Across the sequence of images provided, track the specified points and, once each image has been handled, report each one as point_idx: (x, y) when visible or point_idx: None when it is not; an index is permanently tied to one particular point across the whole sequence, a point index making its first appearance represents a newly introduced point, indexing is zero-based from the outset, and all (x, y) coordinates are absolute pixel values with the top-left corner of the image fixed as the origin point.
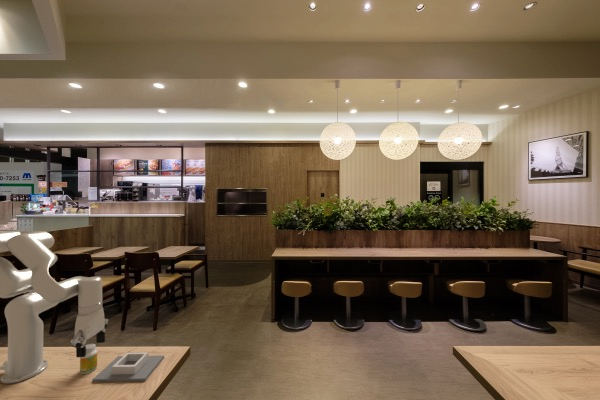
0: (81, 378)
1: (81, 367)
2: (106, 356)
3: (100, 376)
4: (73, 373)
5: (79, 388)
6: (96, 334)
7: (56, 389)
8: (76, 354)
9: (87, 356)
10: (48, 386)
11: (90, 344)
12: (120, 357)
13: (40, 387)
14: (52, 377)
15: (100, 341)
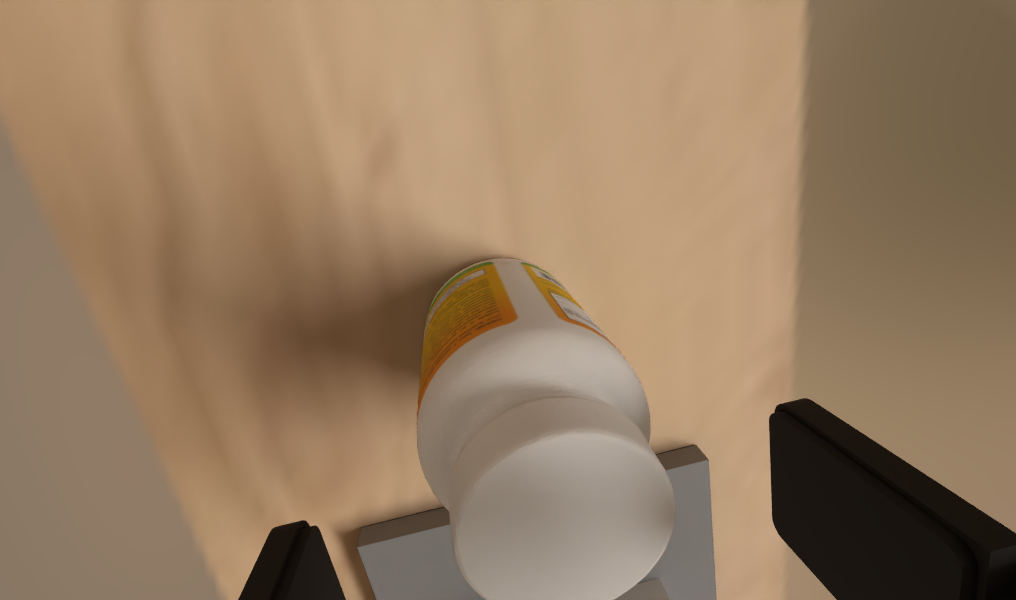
0: (374, 389)
1: (422, 356)
2: (726, 296)
3: (410, 573)
4: (416, 221)
5: (264, 503)
6: (952, 547)
7: (171, 310)
8: (252, 575)
9: (448, 508)
10: (165, 163)
11: (633, 493)
12: (688, 497)
13: (113, 77)
14: (291, 21)
15: (786, 495)
